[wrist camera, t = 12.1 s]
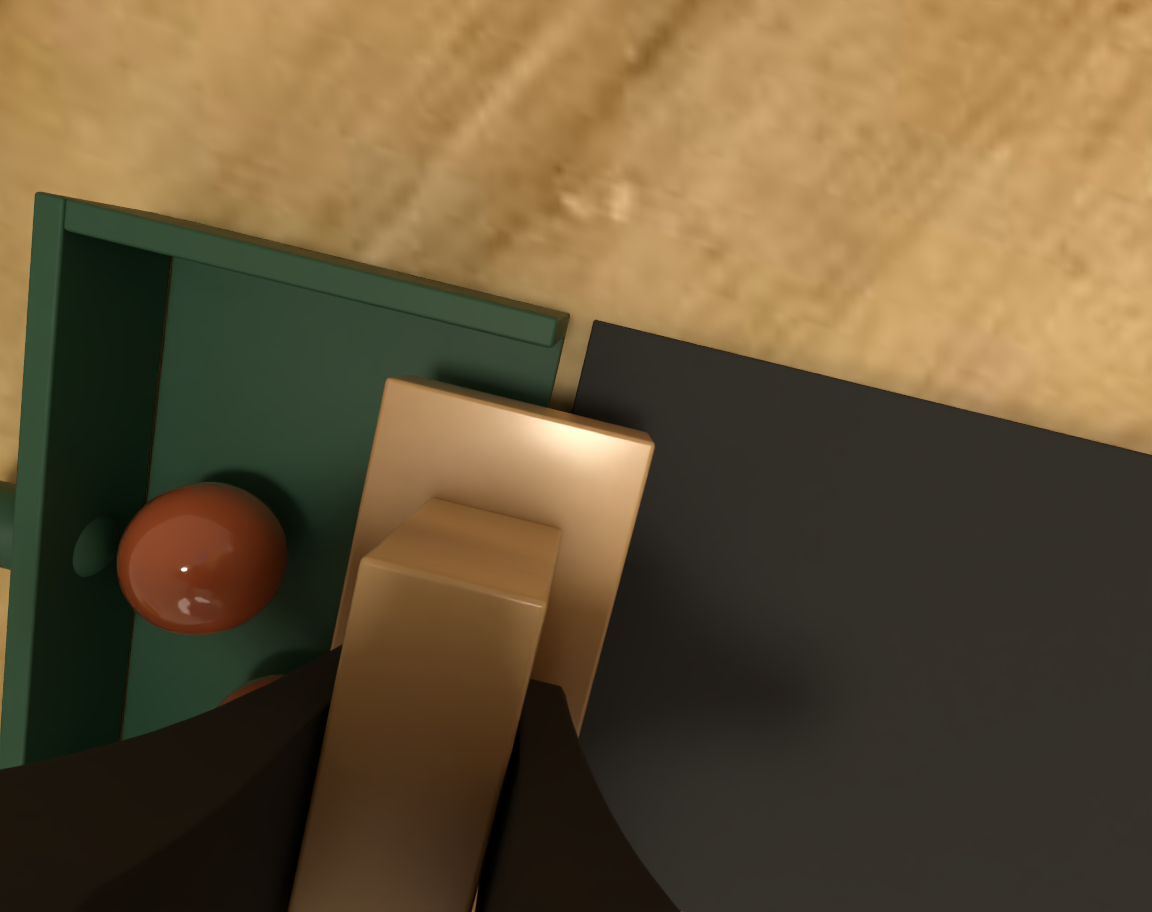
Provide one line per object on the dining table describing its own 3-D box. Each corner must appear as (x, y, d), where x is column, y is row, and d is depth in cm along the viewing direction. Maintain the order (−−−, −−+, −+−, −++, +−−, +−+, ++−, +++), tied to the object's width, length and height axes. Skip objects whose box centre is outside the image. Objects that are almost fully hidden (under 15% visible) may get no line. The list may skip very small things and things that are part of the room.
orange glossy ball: (174, 467, 12) (214, 438, 15) (48, 596, 12) (112, 542, 15) (313, 575, 13) (326, 528, 16) (198, 695, 13) (231, 627, 16)
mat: (1524, 1103, 18) (1539, 1117, 17) (467, 850, 17) (464, 860, 17) (1856, 626, 15) (1879, 633, 14) (594, 319, 15) (594, 319, 14)
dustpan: (570, 313, 15) (558, 318, 11) (447, 846, 17) (409, 970, 14) (25, 180, 15) (-141, 148, 11) (-9, 736, 17) (-150, 837, 14)
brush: (525, 883, 16) (475, 1246, 9) (330, 835, 16) (145, 1167, 9) (644, 424, 14) (682, 482, 8) (429, 371, 14) (290, 385, 8)
